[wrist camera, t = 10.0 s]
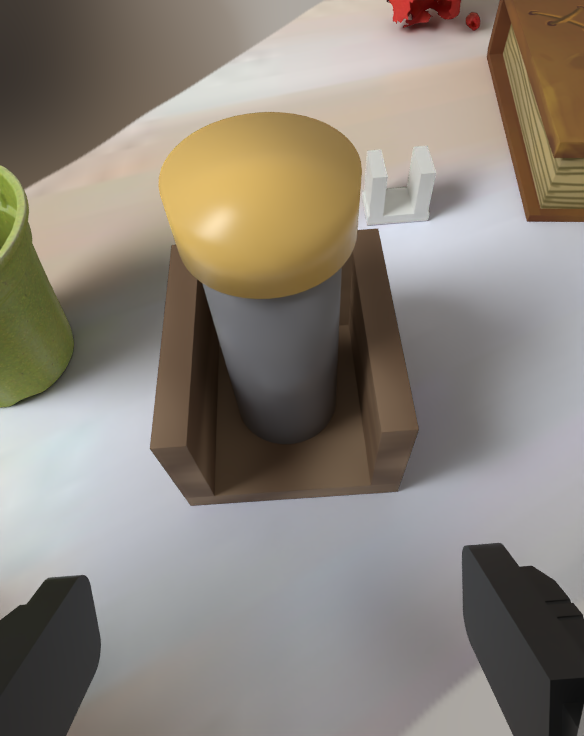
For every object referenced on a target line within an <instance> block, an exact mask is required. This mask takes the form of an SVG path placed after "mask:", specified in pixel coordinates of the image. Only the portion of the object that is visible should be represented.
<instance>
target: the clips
mask: <svg viewBox="0 0 584 736" xmlns="http://www.w3.org/2000/svg"><path fill="white" fill-rule="evenodd" d="M435 176H436V171H435V168H434V164H433V161H432V158H431V155H430V152H429V149H428V146H418V147H413V152H412V158H411V165H410V171H409V177H408V184H407V187H400V188H388V189H386V187H387V178H388V176H387V172H386V168H385V163H384V159H383V155H382V151H381V150H370V151H367V158H366V172H365V186H364V190H363V191H362V202H363V207H364V212H365V218H366V223H367V225H378V224H391V223H404V222H416V221H428V218H429V213H430V212H429V205H430V200H431V195H432V190H433V186H434V181H435Z"/></svg>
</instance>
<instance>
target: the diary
mask: <svg viewBox="0 0 584 736" xmlns="http://www.w3.org/2000/svg"><path fill="white" fill-rule="evenodd" d="M487 60H488V64H489V68H490V72H491V76H492V80H493V85H494V89H495V93H496V97H497V101H498V105H499V109H500V113H501V117H502V121H503V125H504V130H505V134H506V138H507V142H508V146H509V150H510V154H511V158H512V162H513V166H514V170H515V174H516V179H517V183H518V187H519V191H520V195H521V199H522V203H523V207H524V211H525V215H526V219H527V222H584V0H500V2H499V6H498V10H497V14H496V18H495V22H494V26H493V30H492V34H491V38H490V42H489V46H488V53H487Z"/></svg>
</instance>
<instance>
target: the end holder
mask: <svg viewBox="0 0 584 736" xmlns="http://www.w3.org/2000/svg"><path fill="white" fill-rule="evenodd" d="M418 431H419V428H418V423H417V418H416V413H415V408H414V403H413V398H412V393H411V389H410V384H409V379H408V374H407V369H406V364H405V359H404V354H403V349H402V344H401V339H400V334H399V329H398V324H397V320H396V315H395V310H394V305H393V300H392V295H391V290H390V285H389V280H388V275H387V270H386V265H385V260H384V255H383V251H382V246H381V241H380V236H379V231H378V229H366V230H357V239H356V243H355V246H354V249H353V251H352V253H351V255H350V257H349V258H348V260H347V261H346V262H345V264H344V265H343V266H342V272H341V295H340V318H339V341H338V364H337V387H336V405H335V410H334V413H333V416H332V418H331V420H330V421H329V423H328V424H327V425H326V427H325V428H324V429H323V430H322V431H321V432H320V433H318V434H317V435H315V436H314V437H312V438H310V439H308V440H305V441H303V442H299V443H294V444H277V443H272V442H269V441H266V440H264V439H262V438H260V437H258V436H257V435H255V434H254V433H253V432H252V431H251V430H250V429H249V428H248V427H247V426H246V425H245V423H244V421H243V419H242V417H241V414H240V411H239V408H238V404H237V401H236V397H235V394H234V390H233V387H232V384H231V380H230V377H229V373H228V370H227V366H226V363H225V359H224V356H223V352H222V349H221V346H220V342H219V339H218V335H217V332H216V328H215V325H214V321H213V318H212V314H211V311H210V308H209V304H208V301H207V297H206V294H205V290H204V287H203V283H201V282H200V281H199V280H198V279H196V278H195V277H194V276H193V275H192V274H191V273H190V272H189V271H188V270H187V268H186V267H185V265H184V263H183V262H182V260H181V257H180V255H179V252H178V249H177V246H176V245H172V246H171V256H170V265H169V274H168V284H167V293H166V302H165V312H164V321H163V331H162V340H161V349H160V359H159V368H158V377H157V387H156V396H155V405H154V415H153V424H152V433H151V443H150V450H151V451H152V452H153V454H154V455H155V457H156V458H157V459H158V461H159V462H160V464H161V465H162V466H163V468H164V469H165V471H166V472H167V473H168V475H169V476H170V477H171V479H172V480H173V482H174V483H175V484H176V486H177V487H178V489H179V490H180V491H181V493H182V494H183V496H184V497H185V498H186V500H187V501H188V503H189V504H190V505H191V506H194V505H209V504H223V503H238V502H253V501H267V500H282V499H297V498H311V497H326V496H341V495H355V494H370V493H385V492H398V489H399V486H400V483H401V480H402V477H403V474H404V471H405V468H406V466H407V463H408V460H409V457H410V454H411V451H412V448H413V445H414V442H415V439H416V436H417V434H418Z"/></svg>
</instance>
